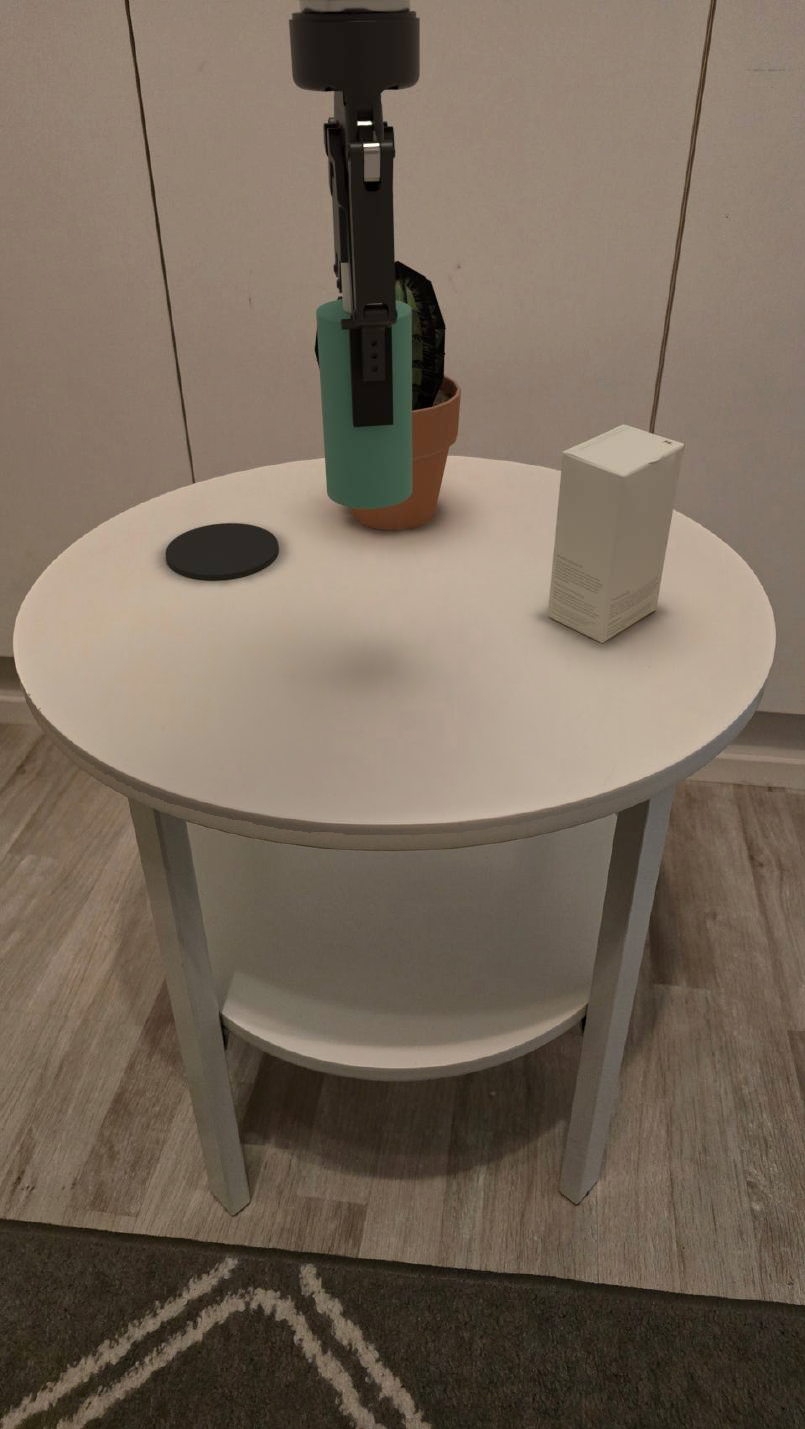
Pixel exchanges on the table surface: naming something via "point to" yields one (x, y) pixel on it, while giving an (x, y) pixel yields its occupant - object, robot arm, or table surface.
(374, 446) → the spray bottle
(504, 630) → the table surface
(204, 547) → the black round coaster
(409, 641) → the table surface
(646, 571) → the cosmetic box
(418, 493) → the potted plant
